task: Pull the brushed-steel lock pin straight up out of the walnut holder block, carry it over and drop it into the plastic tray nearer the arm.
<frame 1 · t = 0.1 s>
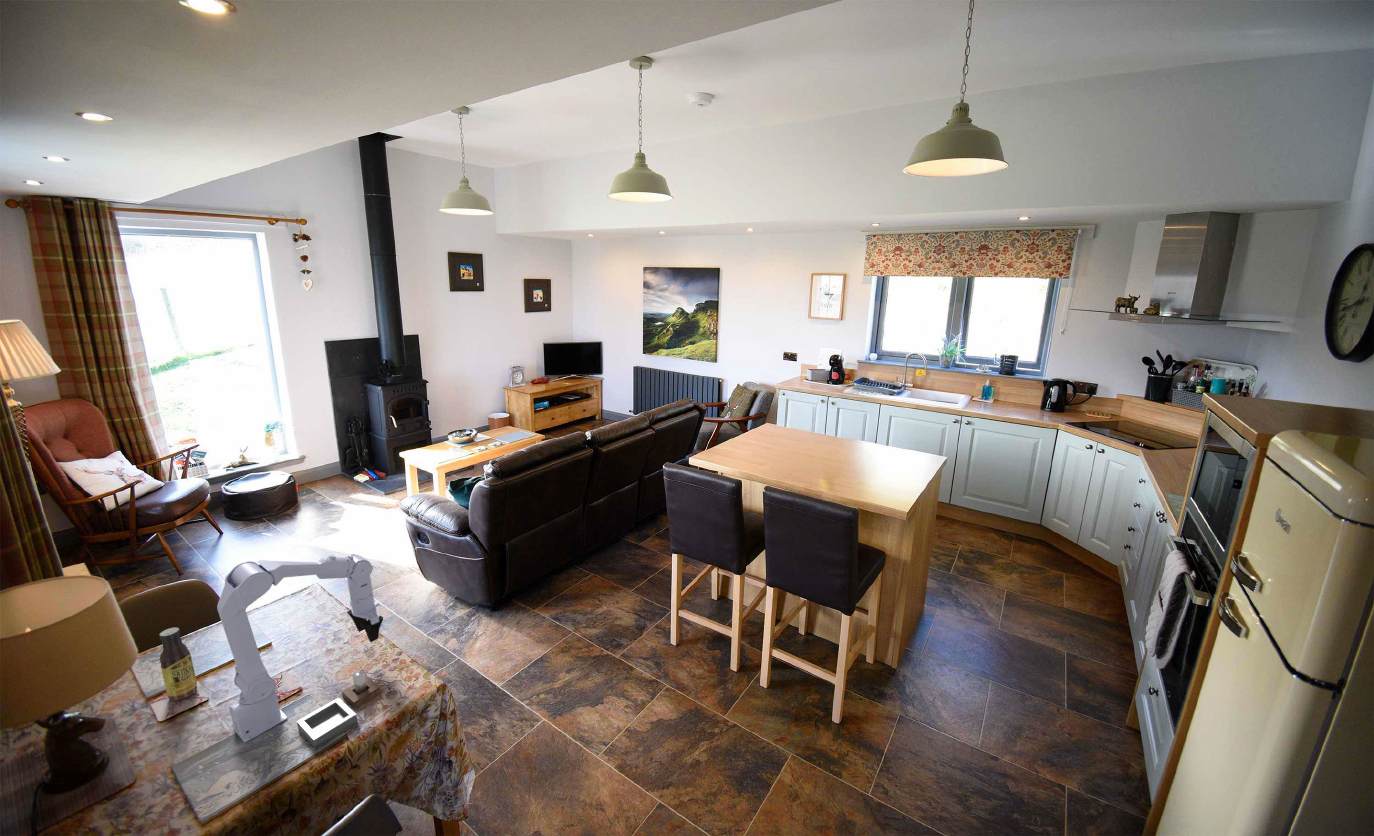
hand: (368, 634, 162), 10 cm above the table, tool pointing down, fingers open, 7 cm apart
lock pin: (362, 695, 153), resting in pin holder
tray: (328, 727, 142), on the table
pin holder: (362, 694, 153), on the table
sauce bottle: (184, 693, 153), on the table
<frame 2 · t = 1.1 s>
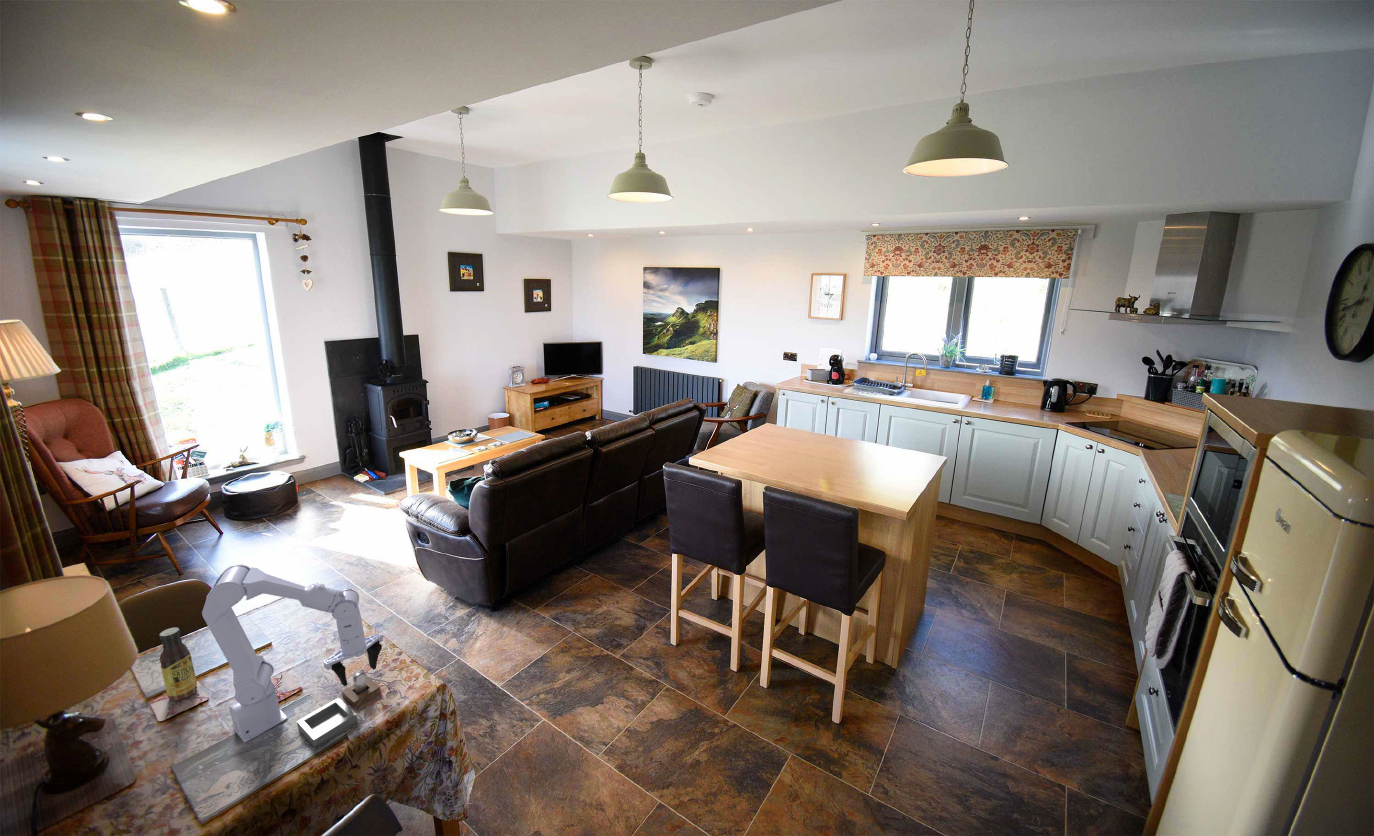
hand: (359, 675, 151), 6 cm above the table, tool pointing down, fingers open, 7 cm apart
nothing on the table moved.
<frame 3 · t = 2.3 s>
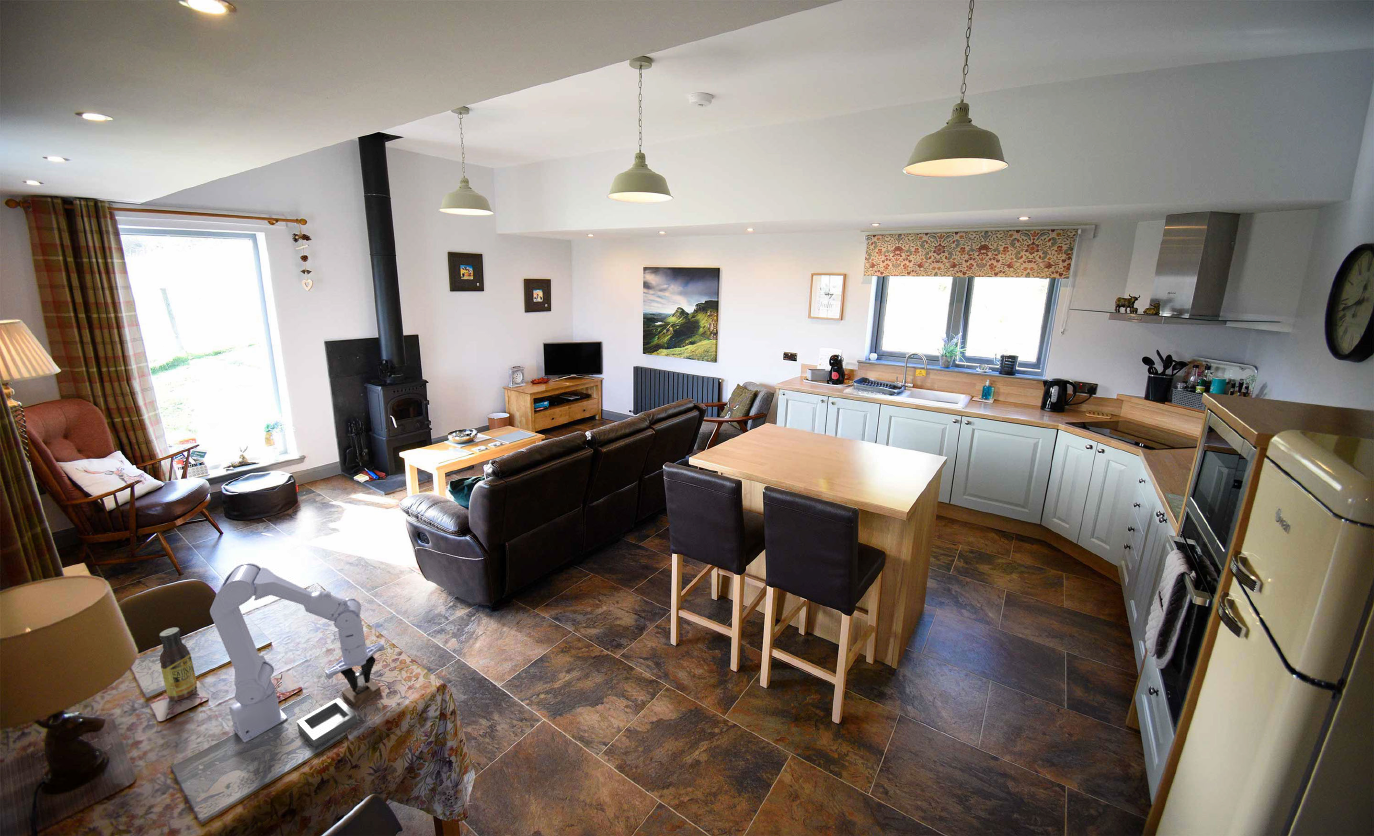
hand: (360, 684, 152), 3 cm above the table, tool pointing down, fingers closed on lock pin, 3 cm apart
lock pin: (362, 695, 153), resting in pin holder, touching gripper
everything else where it was.
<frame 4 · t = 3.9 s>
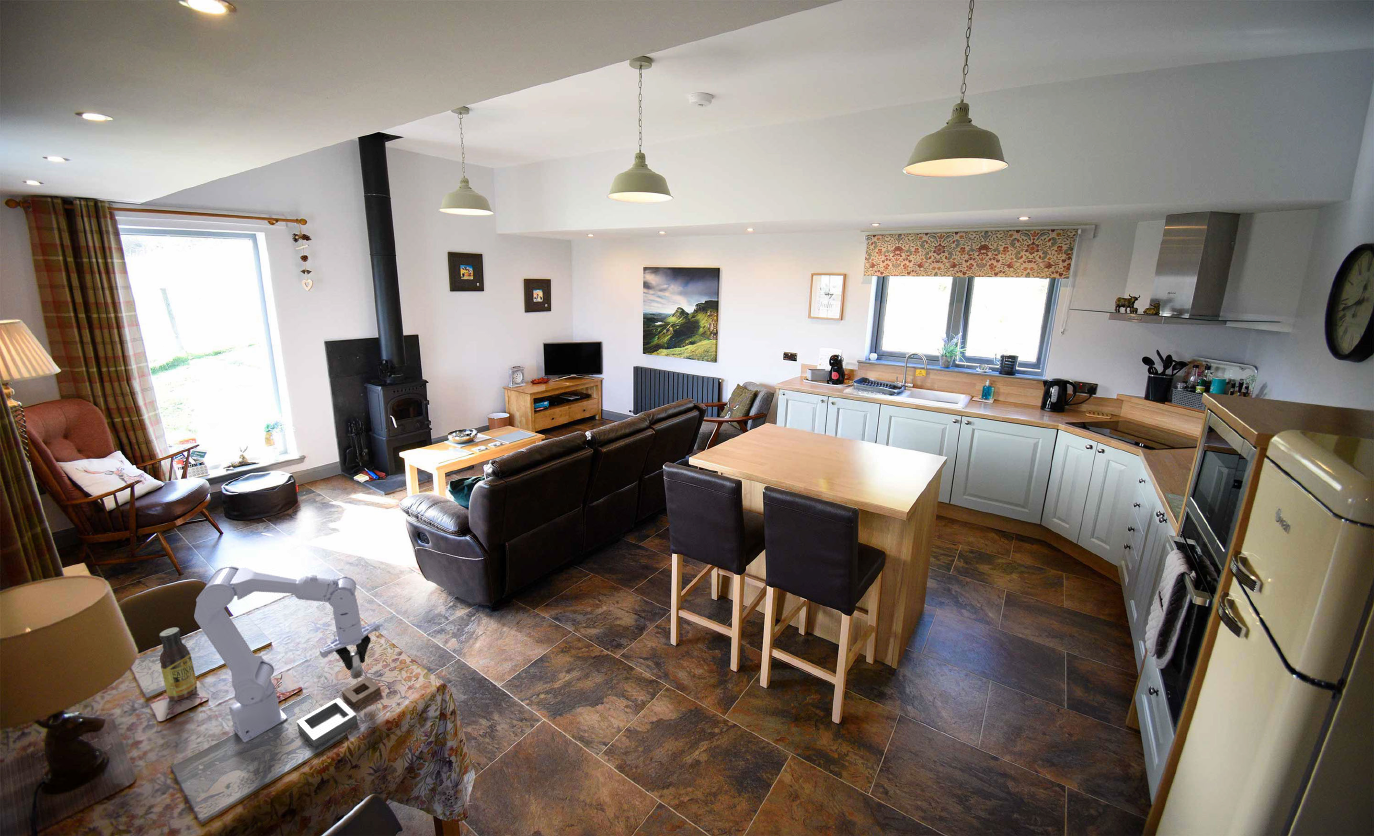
hand: (355, 664, 150), 10 cm above the table, tool pointing down, fingers closed on lock pin, 3 cm apart
lock pin: (357, 675, 151), point 7 cm above the table, touching gripper
everything else where it was.
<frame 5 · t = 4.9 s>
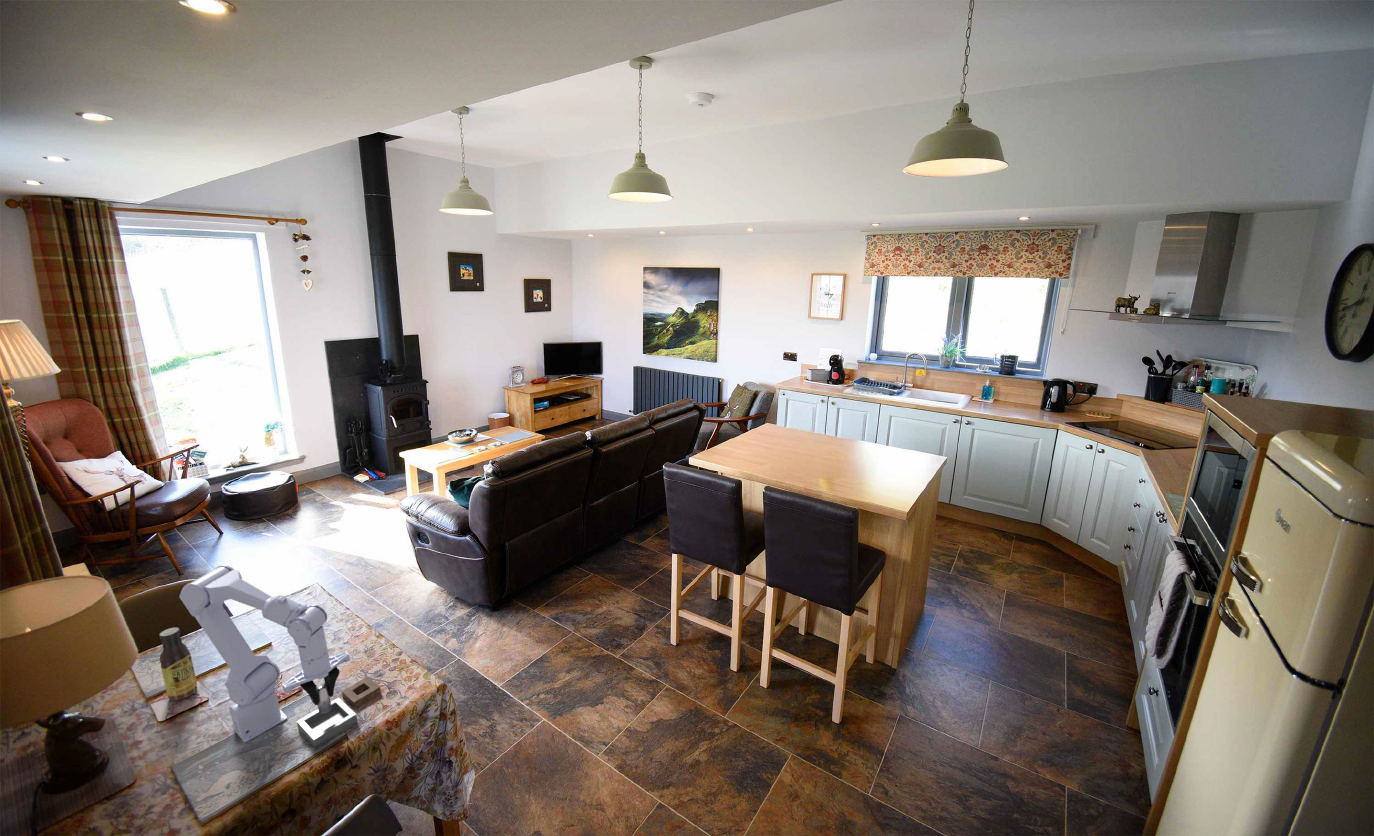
hand: (323, 698, 140), 9 cm above the table, tool pointing down, fingers closed on lock pin, 3 cm apart
lock pin: (325, 709, 140), point 6 cm above the table, touching gripper
everything else where it was.
when the fingers open (6 cm above the table, at t = 5.6 s): lock pin drops 2 cm, resting on tray.
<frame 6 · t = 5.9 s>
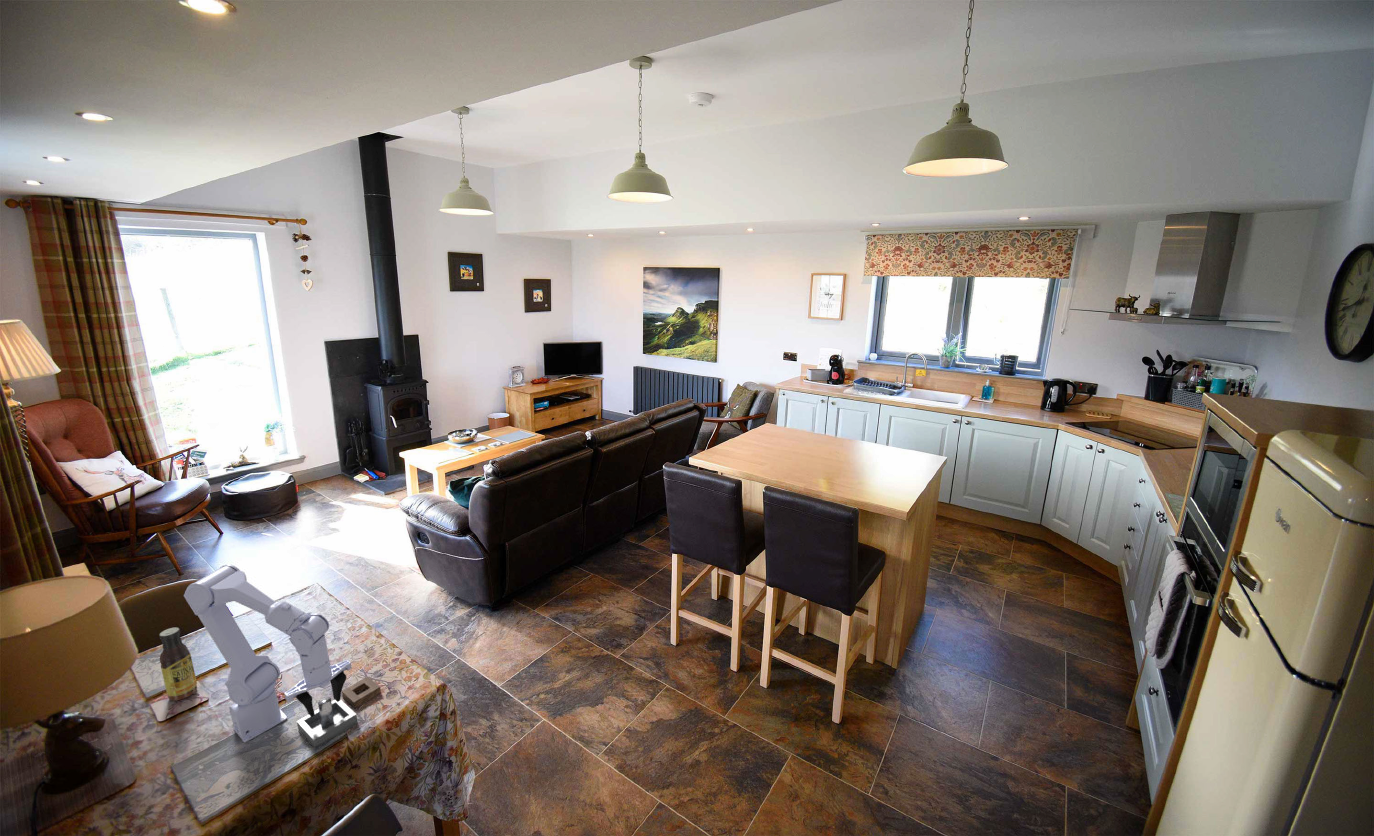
hand: (324, 706, 140), 6 cm above the table, tool pointing down, fingers open, 5 cm apart
lock pin: (327, 723, 142), point 1 cm above the table, touching tray
everything else where it was.
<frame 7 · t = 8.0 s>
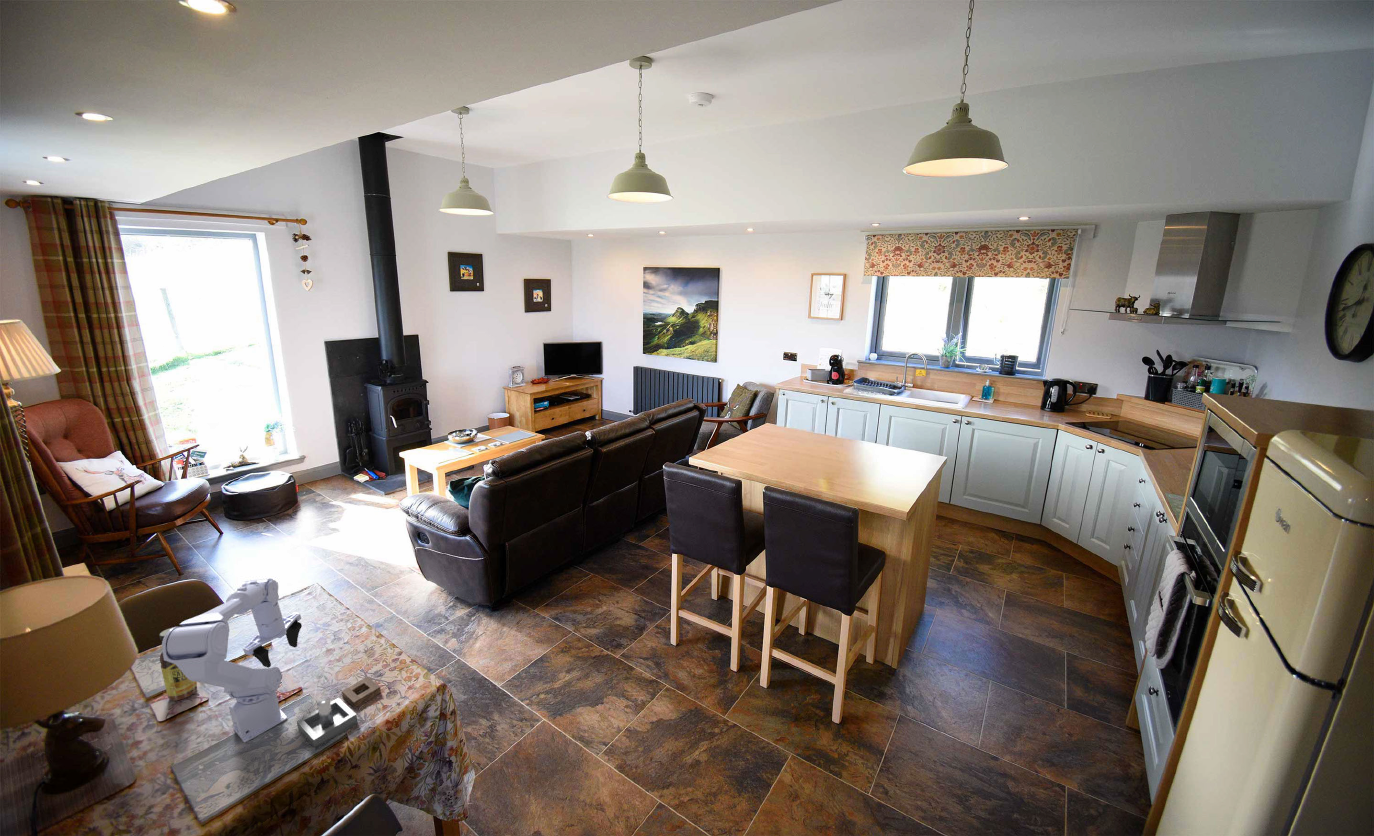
hand: (280, 655, 152), 11 cm above the table, tool pointing down, fingers open, 7 cm apart
nothing on the table moved.
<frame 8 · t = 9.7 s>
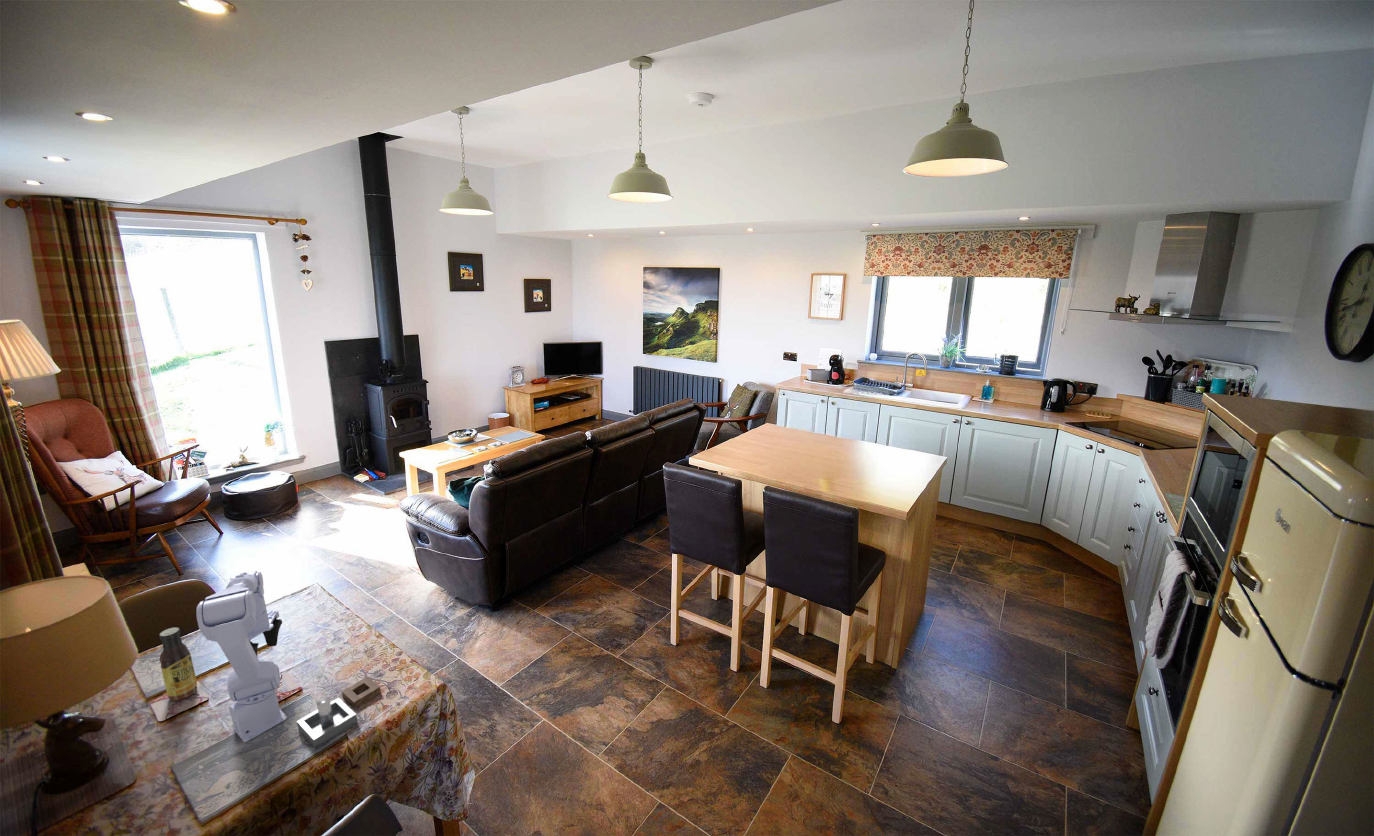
hand: (263, 654, 153), 10 cm above the table, tool pointing down, fingers open, 7 cm apart
nothing on the table moved.
at the end: lock pin inside the target area on the tray (0.1 cm from its centre), point 1.0 cm above the tray's base; the gripper is holding nothing; lock pin moved 11.5 cm from its start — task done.
